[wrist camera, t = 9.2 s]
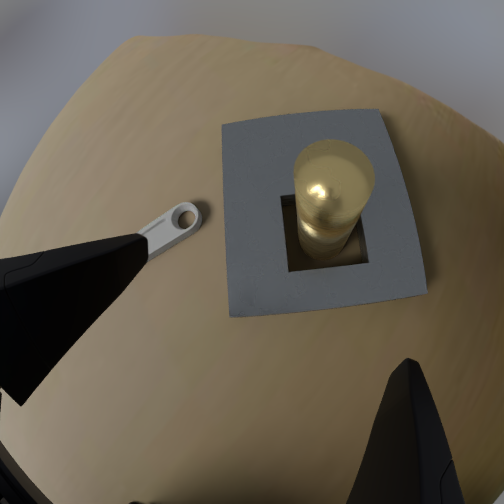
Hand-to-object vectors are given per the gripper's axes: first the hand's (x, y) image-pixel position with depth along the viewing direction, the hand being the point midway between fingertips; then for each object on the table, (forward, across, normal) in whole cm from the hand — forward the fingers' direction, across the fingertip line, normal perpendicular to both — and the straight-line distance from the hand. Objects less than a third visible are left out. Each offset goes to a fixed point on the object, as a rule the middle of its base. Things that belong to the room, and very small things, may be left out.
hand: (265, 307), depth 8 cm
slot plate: (+15, +1, +3) cm, 15 cm away
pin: (+13, 0, +4) cm, 14 cm away
